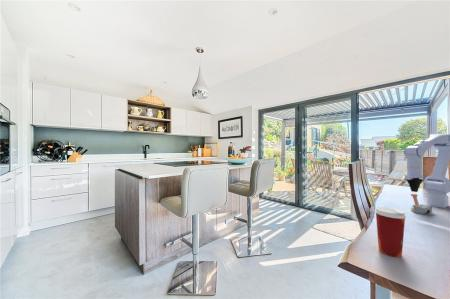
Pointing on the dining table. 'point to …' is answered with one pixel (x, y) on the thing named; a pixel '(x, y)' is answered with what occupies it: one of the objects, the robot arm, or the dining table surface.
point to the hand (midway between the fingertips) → (414, 191)
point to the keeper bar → (415, 199)
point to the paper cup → (390, 230)
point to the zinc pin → (427, 212)
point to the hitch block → (422, 209)
